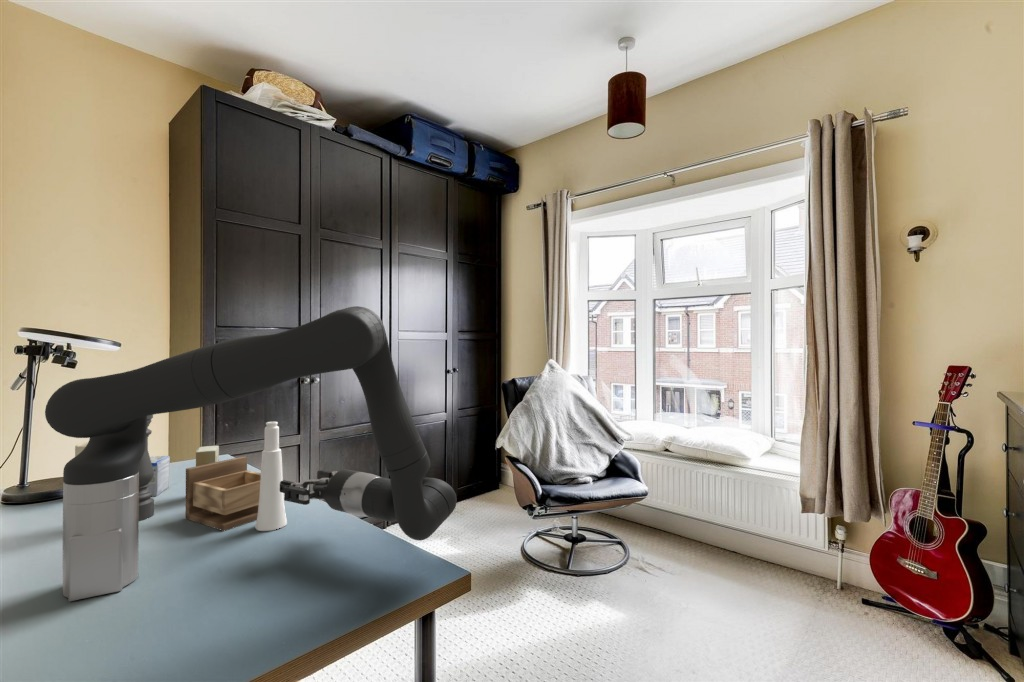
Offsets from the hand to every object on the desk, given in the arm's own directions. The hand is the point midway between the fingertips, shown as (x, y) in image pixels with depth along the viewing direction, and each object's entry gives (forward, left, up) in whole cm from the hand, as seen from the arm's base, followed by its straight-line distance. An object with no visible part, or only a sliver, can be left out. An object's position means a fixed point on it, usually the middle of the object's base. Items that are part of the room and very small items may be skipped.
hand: (300, 480), depth 96 cm
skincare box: (+38, +17, -11) cm, 43 cm away
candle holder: (+29, +30, -11) cm, 43 cm away
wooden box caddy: (+19, +11, -11) cm, 25 cm away
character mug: (+55, +42, -11) cm, 70 cm away
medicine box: (+49, +29, -11) cm, 58 cm away
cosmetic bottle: (+8, +5, -11) cm, 15 cm away
